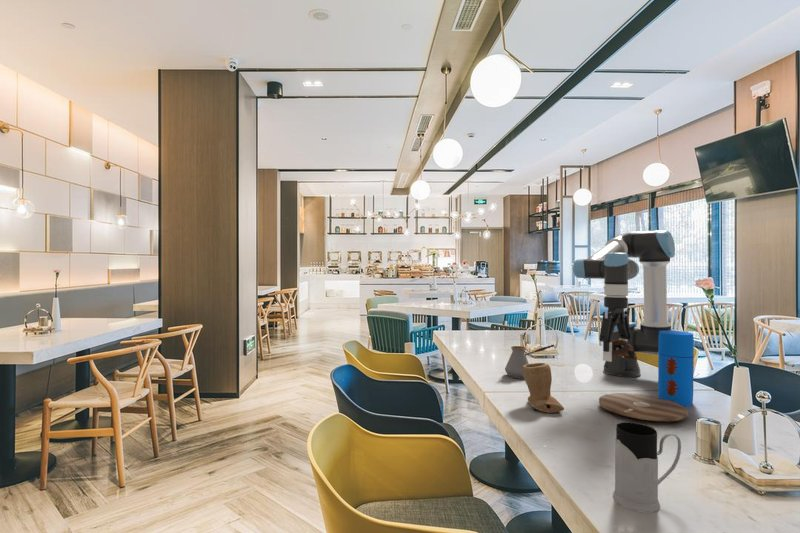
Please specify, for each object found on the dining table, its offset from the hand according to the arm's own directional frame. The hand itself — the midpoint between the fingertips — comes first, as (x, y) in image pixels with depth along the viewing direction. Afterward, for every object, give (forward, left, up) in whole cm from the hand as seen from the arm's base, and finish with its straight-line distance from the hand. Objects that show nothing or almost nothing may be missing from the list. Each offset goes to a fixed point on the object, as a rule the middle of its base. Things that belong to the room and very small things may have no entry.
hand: (615, 358), depth 153 cm
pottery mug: (-1, +1, -1) cm, 2 cm away
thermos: (-22, +12, -17) cm, 30 cm away
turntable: (0, +9, -15) cm, 17 cm away
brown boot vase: (+22, -15, -17) cm, 32 cm away
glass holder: (+58, +33, -17) cm, 69 cm away
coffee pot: (-10, -41, -17) cm, 45 cm away
